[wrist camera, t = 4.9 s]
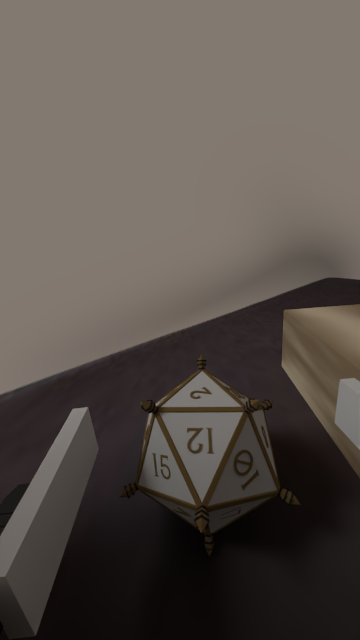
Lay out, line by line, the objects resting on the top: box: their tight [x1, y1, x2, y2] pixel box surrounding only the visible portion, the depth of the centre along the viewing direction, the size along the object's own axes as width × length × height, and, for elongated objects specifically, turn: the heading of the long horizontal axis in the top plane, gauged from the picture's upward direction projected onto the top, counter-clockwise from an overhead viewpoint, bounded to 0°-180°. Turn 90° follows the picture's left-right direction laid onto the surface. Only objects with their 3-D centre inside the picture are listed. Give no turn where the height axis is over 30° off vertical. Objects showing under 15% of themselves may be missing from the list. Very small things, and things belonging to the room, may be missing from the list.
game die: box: [120, 355, 300, 557], centre depth 14 cm, size 9×8×10 cm
